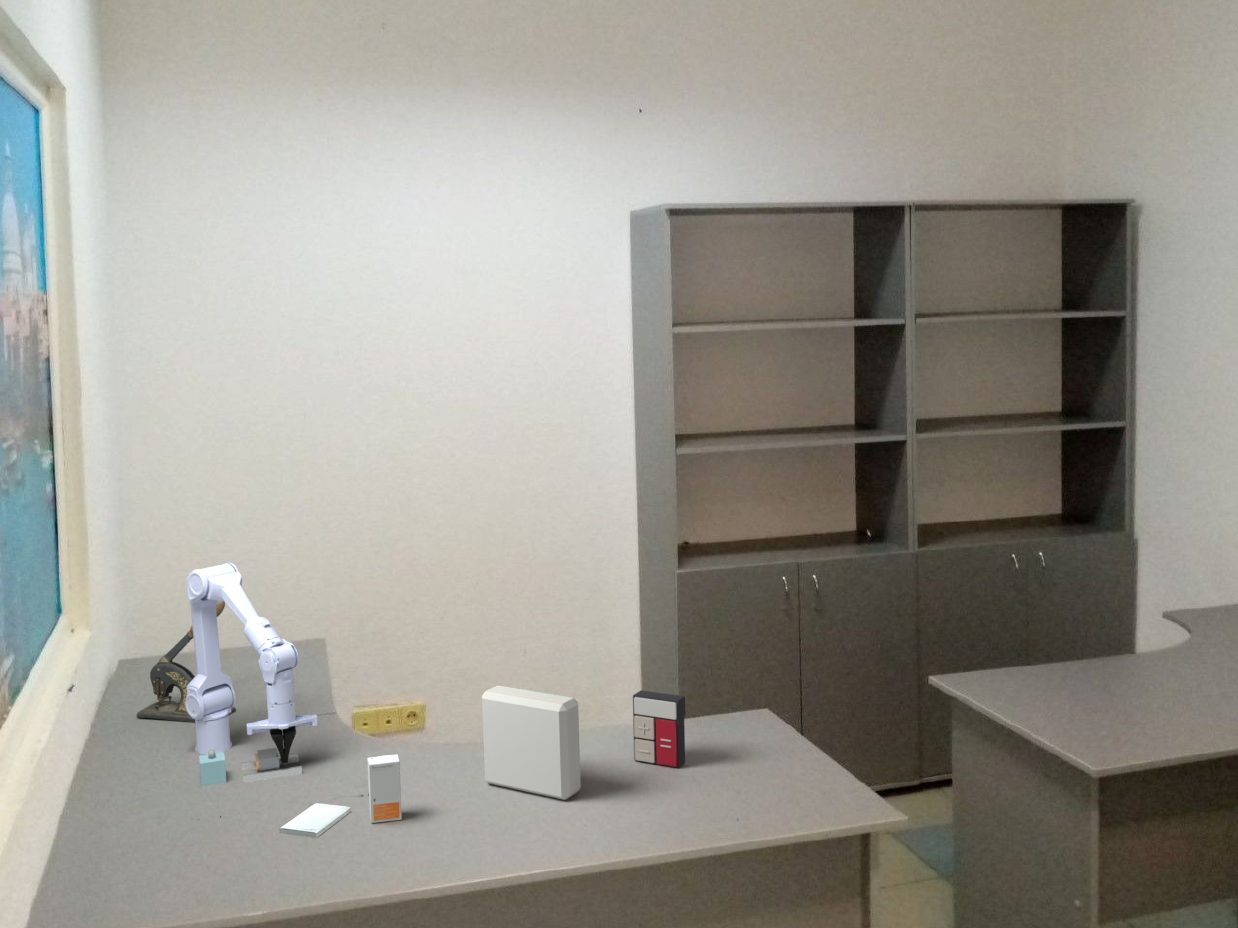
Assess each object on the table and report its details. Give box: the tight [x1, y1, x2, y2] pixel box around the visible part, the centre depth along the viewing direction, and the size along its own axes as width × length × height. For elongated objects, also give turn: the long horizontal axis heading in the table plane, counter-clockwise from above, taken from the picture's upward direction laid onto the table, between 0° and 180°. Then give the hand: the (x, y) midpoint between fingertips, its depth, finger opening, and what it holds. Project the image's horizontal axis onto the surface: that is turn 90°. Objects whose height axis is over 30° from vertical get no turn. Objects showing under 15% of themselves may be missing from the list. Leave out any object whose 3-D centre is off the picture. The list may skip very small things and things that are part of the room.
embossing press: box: [136, 601, 237, 723], centre depth 295 cm, size 11×24×30 cm, turn 74°
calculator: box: [632, 689, 686, 769], centre depth 256 cm, size 11×4×15 cm, turn 62°
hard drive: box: [278, 802, 352, 839], centre depth 230 cm, size 2×8×12 cm
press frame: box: [240, 753, 303, 783], centre depth 252 cm, size 12×22×3 cm, turn 111°
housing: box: [198, 750, 227, 787], centre depth 249 cm, size 5×5×6 cm
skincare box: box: [366, 754, 402, 824], centre depth 230 cm, size 6×4×12 cm
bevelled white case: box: [481, 685, 582, 801], centre depth 243 cm, size 21×8×20 cm, turn 59°
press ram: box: [254, 747, 280, 773], centre depth 253 cm, size 6×5×4 cm
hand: (284, 761), depth 255 cm, fingers closed
